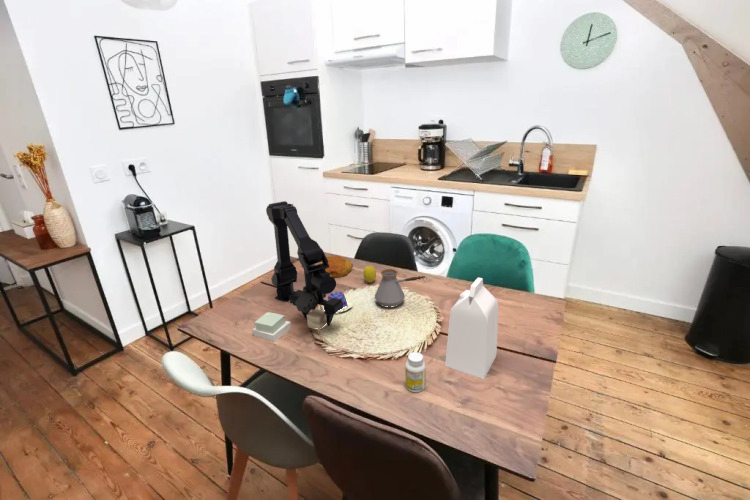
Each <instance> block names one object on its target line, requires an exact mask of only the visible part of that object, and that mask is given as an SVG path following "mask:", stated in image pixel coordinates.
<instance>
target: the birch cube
mask: <svg viewBox="0 0 750 500" xmlns="http://www.w3.org/2000/svg"><path fill="white" fill-rule="evenodd" d="M324 312H325V311H324V310H323V309H320V308H317V307H316V308H315V310H311V311H310V312H309V314H307V320H306V321H307V327H308V328H310V329H313V328H318V329H320V328H322V327H323V326H324V325H325V324H326V323H327V319H326V314H325V313H324ZM323 328H324V327H323ZM323 328H322V329H323Z"/></svg>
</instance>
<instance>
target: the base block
mask: <svg viewBox="0 0 750 500" xmlns="http://www.w3.org/2000/svg"><path fill="white" fill-rule="evenodd" d="M291 329H292V323H291V321H288V320H285V324H284V325H283V326H282V327H280V328H279V329H278V330H277V331H276V332H275V333H274V334H271V333H267V332H262V331H258V330H256V328H255V327H253V328H252V329H251V330H252V336H255V337H258V338H261V339H264V340H265V341H270V342H276V341H277V340H278V339H279V338H281V337H282V336H283V335H284V334H286V333H287V332H289V331H290V330H291Z"/></svg>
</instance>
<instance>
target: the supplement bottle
mask: <svg viewBox="0 0 750 500" xmlns="http://www.w3.org/2000/svg"><path fill="white" fill-rule="evenodd" d="M407 356H408V357H407V361H406V362H405V374H404V375H405V376H404V377H405V387H406V389H407V390H409V392H413V393H420V392H422V391H423V390H425V387H426V369H427V368H426V363H425V361H424V355H423V354H422V353H420V352H416V351H413V352H410V353H409V354H408V355H407Z"/></svg>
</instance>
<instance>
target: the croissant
mask: <svg viewBox="0 0 750 500" xmlns="http://www.w3.org/2000/svg"><path fill="white" fill-rule="evenodd" d="M326 258H327V260H328V265H329V268H326V269H325V271H326V272H329V273H330V276H331V277H333V278H334V279H338V278H341V277H346V276H348V274H349V273H350V272H351V271H352V268H353V267H354V264H353V263H352V262H351V260H349V259H347V257H345V256H344V257H343V256H340V255H336V256H335V255H334V256H326ZM322 263H323V262H319V263H318V264H322Z"/></svg>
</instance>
